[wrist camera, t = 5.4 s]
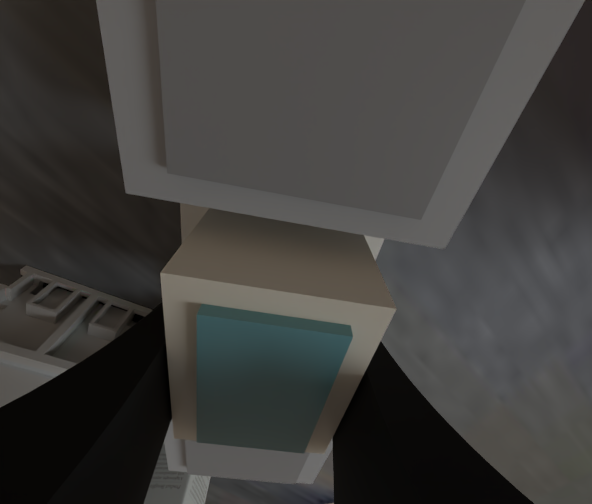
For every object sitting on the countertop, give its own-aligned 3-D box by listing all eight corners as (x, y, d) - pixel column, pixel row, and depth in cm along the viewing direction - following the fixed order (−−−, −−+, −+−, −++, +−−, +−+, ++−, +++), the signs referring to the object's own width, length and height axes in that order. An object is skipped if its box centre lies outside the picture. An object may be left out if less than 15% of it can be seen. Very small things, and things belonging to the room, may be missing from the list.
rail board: (463, 8, 9) (763, -123, 3) (321, 372, 20) (329, 497, 14) (184, -64, 8) (-104, -411, 2) (193, 355, 19) (145, 480, 13)
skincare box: (156, 454, 27) (114, 565, 21) (136, 423, 24) (79, 543, 18) (217, 455, 27) (192, 567, 21) (205, 423, 24) (171, 545, 18)
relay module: (348, 201, 10) (401, 319, 5) (314, 315, 14) (325, 465, 8) (231, 179, 10) (152, 282, 5) (223, 301, 13) (169, 449, 8)
